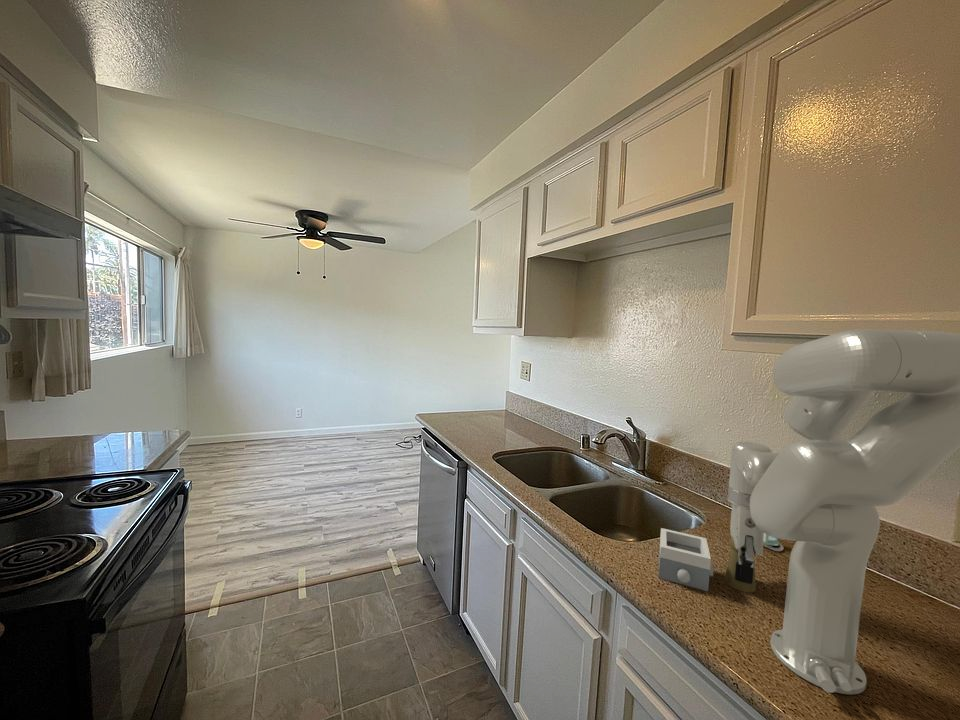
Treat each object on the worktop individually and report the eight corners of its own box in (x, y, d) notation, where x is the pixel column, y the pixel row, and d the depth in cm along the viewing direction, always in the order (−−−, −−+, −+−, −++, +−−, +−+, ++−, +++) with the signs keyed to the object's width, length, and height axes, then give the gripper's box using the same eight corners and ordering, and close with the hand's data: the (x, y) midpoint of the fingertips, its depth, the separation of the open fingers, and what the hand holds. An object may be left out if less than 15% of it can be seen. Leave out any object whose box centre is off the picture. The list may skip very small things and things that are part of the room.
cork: (755, 596, 85) (759, 547, 84) (723, 584, 88) (727, 538, 88) (756, 582, 89) (760, 537, 89) (725, 572, 93) (729, 528, 92)
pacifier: (783, 544, 108) (756, 536, 111) (786, 523, 107) (759, 516, 111) (783, 556, 102) (756, 547, 106) (787, 533, 101) (759, 525, 105)
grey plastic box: (715, 596, 84) (717, 563, 83) (658, 580, 89) (660, 549, 88) (709, 569, 94) (711, 539, 94) (658, 556, 99) (661, 528, 98)
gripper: (778, 516, 78) (770, 602, 79) (759, 488, 94) (752, 559, 95) (734, 508, 81) (727, 590, 83) (722, 481, 97) (716, 551, 98)
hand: (740, 573), depth 89 cm, fingers open, 5 cm apart
